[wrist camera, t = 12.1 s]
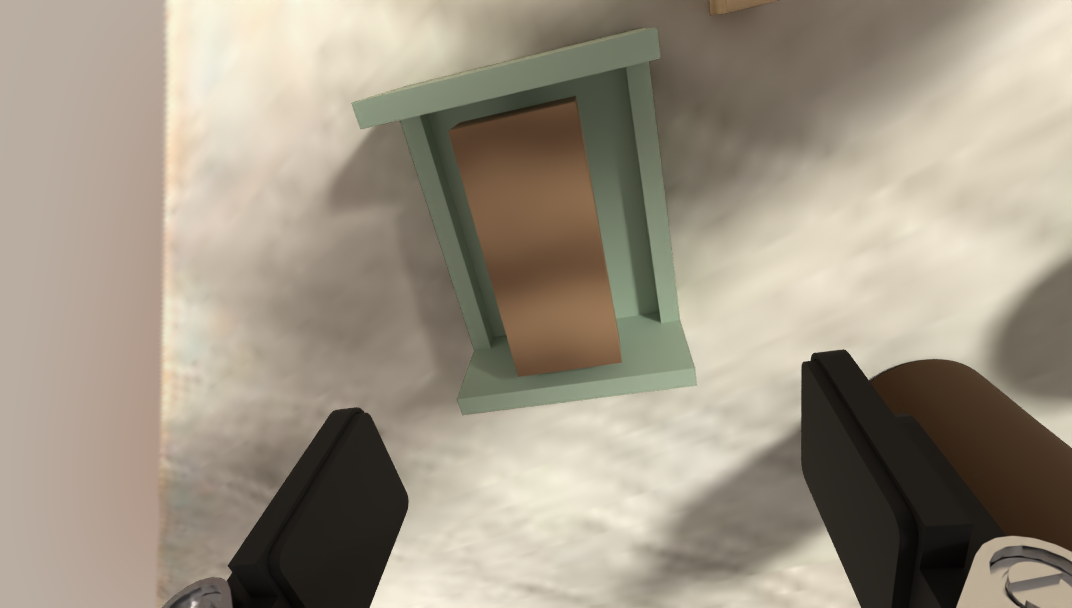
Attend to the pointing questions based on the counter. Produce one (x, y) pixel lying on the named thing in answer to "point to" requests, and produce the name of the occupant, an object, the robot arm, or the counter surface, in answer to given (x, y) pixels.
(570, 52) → the frame
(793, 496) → the counter surface
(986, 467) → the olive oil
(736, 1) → the tan rectangular bar
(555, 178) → the board
